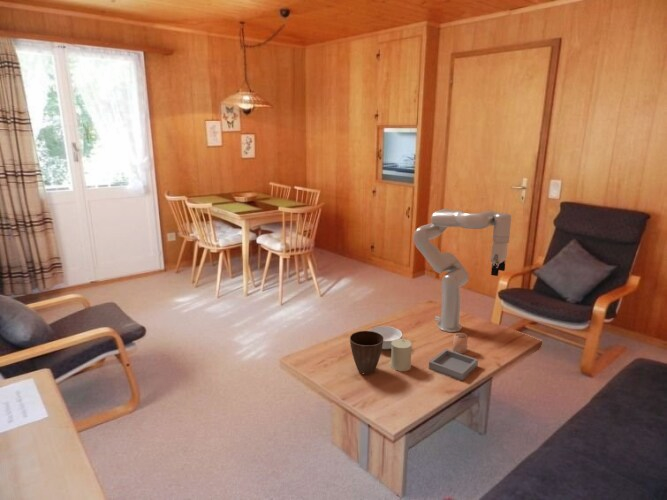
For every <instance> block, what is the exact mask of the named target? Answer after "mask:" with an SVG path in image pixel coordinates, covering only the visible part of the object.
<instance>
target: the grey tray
mask: <svg viewBox="0 0 667 500" xmlns="http://www.w3.org/2000/svg"><path fill="white" fill-rule="evenodd" d="M478 364H479V359H477V358H474V357H472V356H468V355H465V354H460V353H457V352H454V351H453V350H450V349H446V348H445V349H444V350H443V351H441V352H440V353H438V355H436V356H435V357H433V358H432V359H431V360H429V361H428V369H429V370H431V371H433V372H436V373H439V374H442V375H444V376H447V377H450V378H453V379H455V380H457V381H461V382H463V381H464V380H465V379H466V378H467V377H468V376H469V375H470V374H471V373H472V372H473V371H475V369H477V368H478V367H479V366H478Z"/></svg>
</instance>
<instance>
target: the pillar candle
mask: <svg viewBox="0 0 667 500" xmlns="http://www.w3.org/2000/svg"><path fill="white" fill-rule="evenodd" d="M391 345H392V347H391V349H390V350H391V353H390V354H391V355H390V357H391V358H390V367H392V368H393V369H392V368H391V369H392V370H394V369H395V370H394V371H396V370H398V371H397V372H407V371H410V370H411V367H412V365H411V364H412V341H410V340H408V339H405V338H402V339H396V340H393V341H392V342H391ZM406 370H407V371H406Z"/></svg>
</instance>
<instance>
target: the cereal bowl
mask: <svg viewBox="0 0 667 500" xmlns="http://www.w3.org/2000/svg"><path fill="white" fill-rule="evenodd" d="M368 331H372V332H376V333H379V334H381V335H382V336H383V338H384V339H383V345H382V350H391V347H392V345H391V342H392V341H393V340H396V339H403V333H402V330H400V329H398V328H396V327H393V326H389V325H380V326H379V325H377V326H374V327H372V328H370V329H369V330H368Z"/></svg>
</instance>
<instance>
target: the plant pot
mask: <svg viewBox="0 0 667 500" xmlns="http://www.w3.org/2000/svg"><path fill="white" fill-rule="evenodd" d="M383 339H384V338H383V336H382V335H381V334H379V333H376V332H372V331H369V330H359V331H357V332H356V331H355V332H353V333H352V334H351V335H349V342H350V343H349V344H350V348H351V349H350V350H351V354H352V357H353V358H352V359H353V361H354V363H355V366H356V369H357V371H358V373H360V372H361V373H364V374H363V375H366V374H368V375H372V374H374V373H375V371H376V369H377V367H378V363H379V361H380V358H381V354H382V350H383V349H382V345H383ZM373 372H374V373H373ZM361 373H360V374H361ZM371 373H372V374H371Z"/></svg>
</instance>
